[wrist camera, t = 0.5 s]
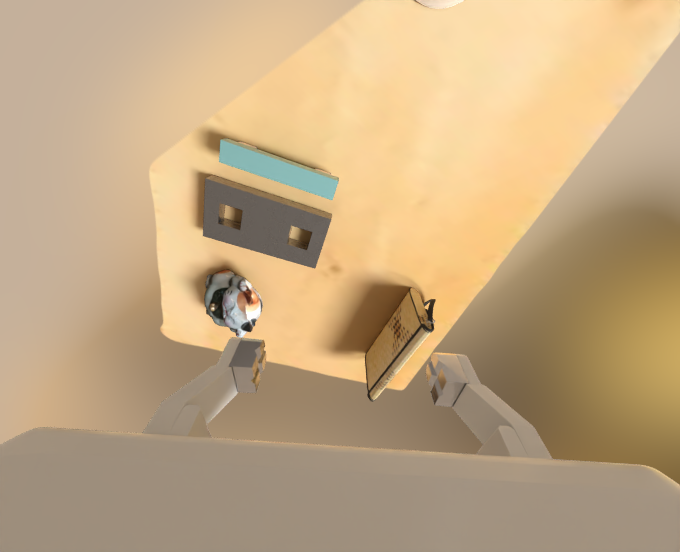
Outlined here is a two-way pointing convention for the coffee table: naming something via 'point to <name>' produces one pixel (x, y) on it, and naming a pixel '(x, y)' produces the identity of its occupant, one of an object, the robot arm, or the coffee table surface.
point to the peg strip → (277, 168)
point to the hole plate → (263, 221)
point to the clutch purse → (398, 341)
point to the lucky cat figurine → (232, 302)
